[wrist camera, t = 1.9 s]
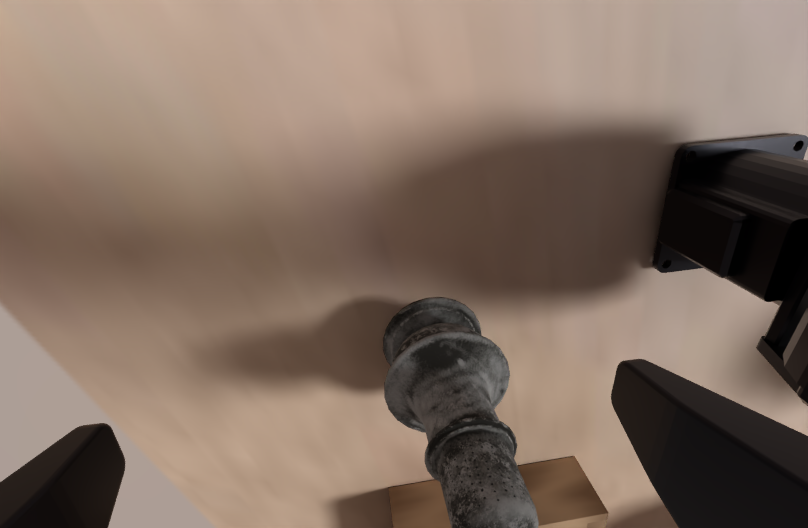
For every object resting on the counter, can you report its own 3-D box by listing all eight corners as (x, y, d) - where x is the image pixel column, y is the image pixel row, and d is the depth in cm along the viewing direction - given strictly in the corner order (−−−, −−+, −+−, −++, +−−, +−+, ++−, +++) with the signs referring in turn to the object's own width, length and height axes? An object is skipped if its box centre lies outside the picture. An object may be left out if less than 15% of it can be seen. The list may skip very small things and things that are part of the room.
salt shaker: (439, 399, 25) (516, 657, 14) (354, 354, 23) (372, 619, 12) (507, 326, 23) (653, 553, 13) (425, 271, 21) (516, 490, 11)
